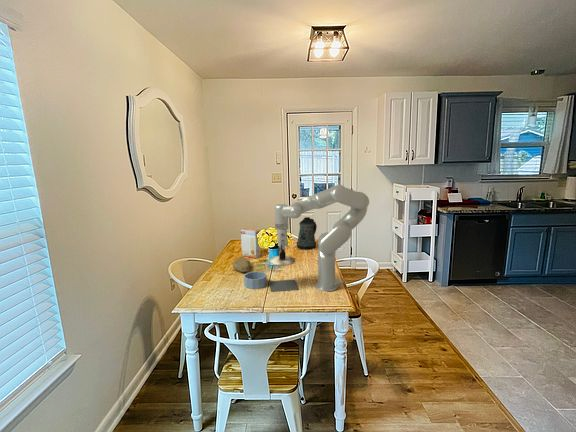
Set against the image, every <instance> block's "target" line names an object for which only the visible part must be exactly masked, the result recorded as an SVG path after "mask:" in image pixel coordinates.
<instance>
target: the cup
mask: <svg viewBox="0 0 576 432" xmlns="http://www.w3.org/2000/svg"><path fill="white" fill-rule="evenodd" d="M267 280H268V279H267V273H265V272H264V271H250V272H245V274H243V284H244V285H243V286H244V288H246V289H248V290H260V289H263V288H265V287H267V285H268V282H267Z"/></svg>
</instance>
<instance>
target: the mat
mask: <svg viewBox="0 0 576 432" xmlns="http://www.w3.org/2000/svg"><path fill="white" fill-rule="evenodd" d="M268 284H269V289H270V293H277V292H289V291H290V292H291V291H294V292H295V291H300V288H299V286H298V283H297V281H296V279H281V280H270V281H269V280H268Z"/></svg>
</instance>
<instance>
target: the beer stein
mask: <svg viewBox="0 0 576 432" xmlns="http://www.w3.org/2000/svg"><path fill="white" fill-rule="evenodd" d="M298 224H299V231H298V238H297V241H296V248H297V249H298V250H304V251H310V250H314V249H316V247H317V242H316V237H315V236H316V233H317V227H318V225H317V223H316V221H315V220H314V219H313V218H311V217H308V216H307V217H304V218H303V219H302V220H301V221H300V222H299V223H298Z"/></svg>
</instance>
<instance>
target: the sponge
mask: <svg viewBox="0 0 576 432" xmlns="http://www.w3.org/2000/svg"><path fill="white" fill-rule="evenodd" d="M250 262H251V260H250V258H248V257H245V256H240V257H238V258H236V259H235V260H234V261H233V263H232V268H233V269H234V270H236V271H237V272H240V273H247V272H248V270H250Z"/></svg>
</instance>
